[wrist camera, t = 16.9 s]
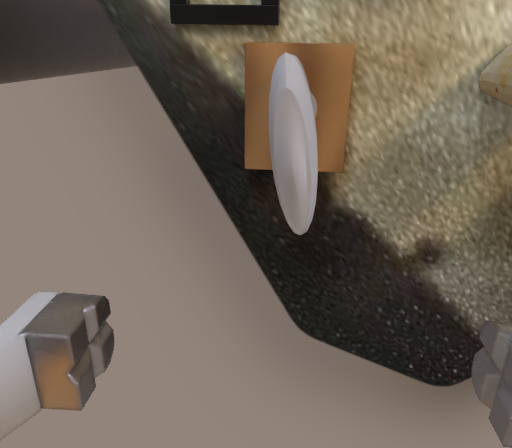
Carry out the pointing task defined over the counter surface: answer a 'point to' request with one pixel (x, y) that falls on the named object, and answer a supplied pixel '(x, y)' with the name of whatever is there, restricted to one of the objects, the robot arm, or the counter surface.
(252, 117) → the oak board
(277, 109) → the tall pale column
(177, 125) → the counter surface
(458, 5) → the counter surface
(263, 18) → the black rectangular frame
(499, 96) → the food model
